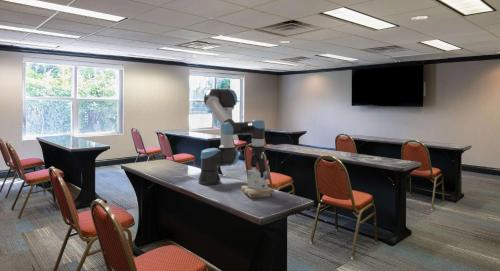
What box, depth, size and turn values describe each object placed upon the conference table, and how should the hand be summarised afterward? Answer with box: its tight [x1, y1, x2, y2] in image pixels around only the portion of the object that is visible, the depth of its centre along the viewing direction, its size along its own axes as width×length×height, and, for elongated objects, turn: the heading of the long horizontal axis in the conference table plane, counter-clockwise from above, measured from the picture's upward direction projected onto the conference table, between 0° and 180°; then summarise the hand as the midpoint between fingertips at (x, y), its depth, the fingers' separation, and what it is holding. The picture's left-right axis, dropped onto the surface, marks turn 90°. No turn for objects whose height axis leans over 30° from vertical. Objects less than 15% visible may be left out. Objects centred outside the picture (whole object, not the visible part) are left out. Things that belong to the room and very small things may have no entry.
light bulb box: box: [247, 168, 268, 190], centre depth 204 cm, size 11×7×11 cm, turn 55°
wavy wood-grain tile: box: [240, 185, 275, 199], centre depth 204 cm, size 16×16×4 cm
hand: (257, 180), depth 204 cm, fingers open, 13 cm apart
